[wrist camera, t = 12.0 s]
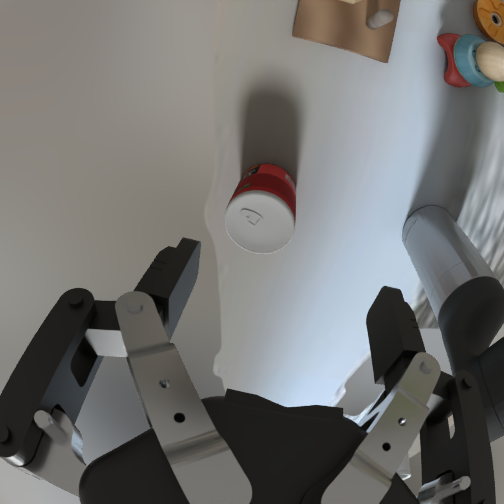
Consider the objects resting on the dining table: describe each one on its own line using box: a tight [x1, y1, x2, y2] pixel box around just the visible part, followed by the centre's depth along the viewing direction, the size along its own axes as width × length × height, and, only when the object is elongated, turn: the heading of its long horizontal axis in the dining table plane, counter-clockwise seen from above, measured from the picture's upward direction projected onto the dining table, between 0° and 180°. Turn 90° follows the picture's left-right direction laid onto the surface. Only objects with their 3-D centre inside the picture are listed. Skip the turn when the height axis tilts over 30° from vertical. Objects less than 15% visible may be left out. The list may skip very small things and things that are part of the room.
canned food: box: [224, 164, 296, 254], centre depth 37 cm, size 8×8×11 cm
